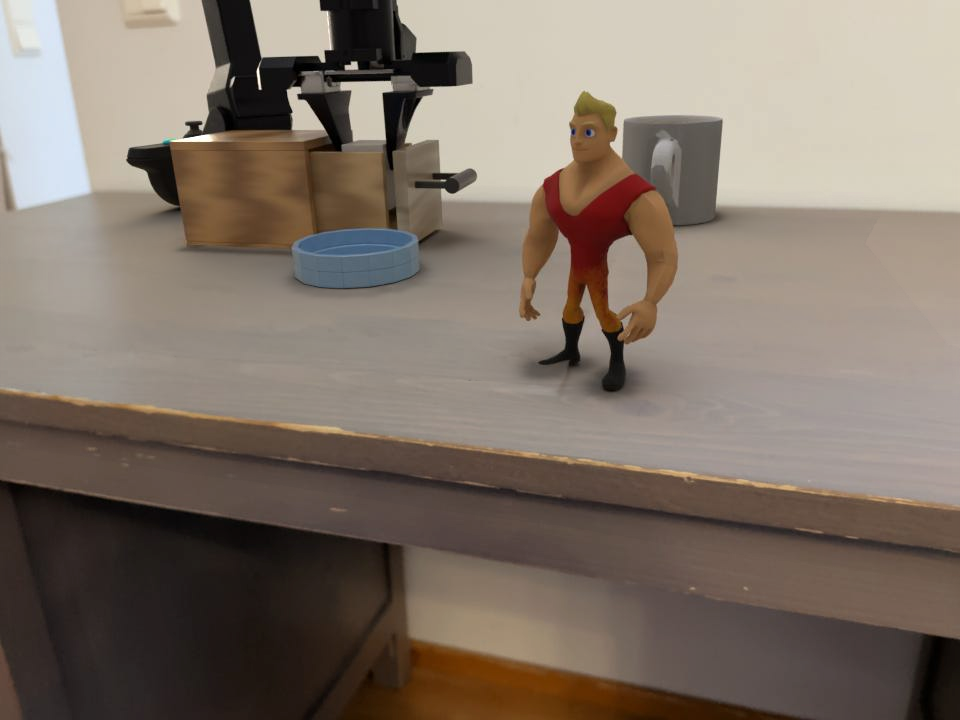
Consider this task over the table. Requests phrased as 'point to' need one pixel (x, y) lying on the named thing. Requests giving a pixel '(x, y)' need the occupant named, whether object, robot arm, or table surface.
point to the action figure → (598, 235)
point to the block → (381, 147)
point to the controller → (161, 164)
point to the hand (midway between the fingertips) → (372, 169)
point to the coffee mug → (677, 161)
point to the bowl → (356, 257)
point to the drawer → (382, 188)
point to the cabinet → (247, 187)
